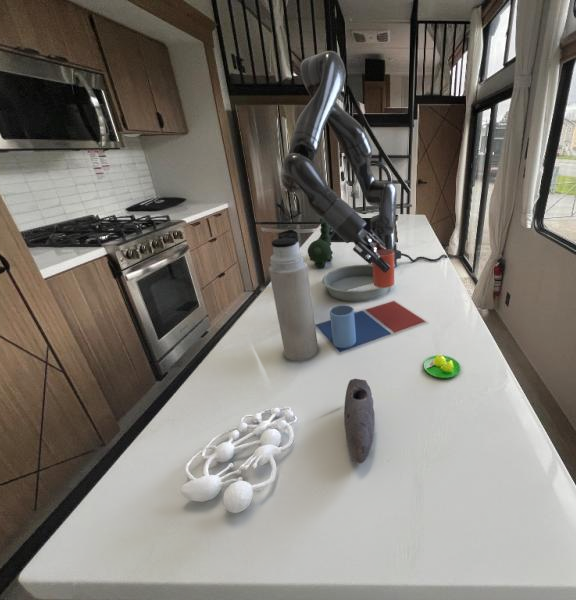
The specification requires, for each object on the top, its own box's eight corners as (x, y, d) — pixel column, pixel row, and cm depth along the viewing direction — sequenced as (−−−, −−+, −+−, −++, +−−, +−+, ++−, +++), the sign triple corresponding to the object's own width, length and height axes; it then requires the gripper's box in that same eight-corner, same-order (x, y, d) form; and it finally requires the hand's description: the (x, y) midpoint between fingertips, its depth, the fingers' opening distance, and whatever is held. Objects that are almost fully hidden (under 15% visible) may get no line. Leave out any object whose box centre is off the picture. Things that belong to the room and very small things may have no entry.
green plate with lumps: (466, 367, 72) (468, 357, 71) (446, 385, 67) (447, 374, 66) (437, 353, 77) (438, 343, 76) (416, 368, 72) (416, 358, 71)
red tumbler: (387, 278, 93) (386, 247, 89) (398, 284, 89) (398, 252, 85) (369, 282, 91) (368, 251, 87) (380, 289, 86) (379, 257, 82)
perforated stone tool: (376, 472, 50) (374, 440, 47) (342, 474, 50) (338, 442, 47) (374, 402, 63) (373, 374, 60) (347, 403, 63) (344, 375, 60)
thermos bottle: (296, 340, 84) (279, 234, 72) (324, 345, 82) (310, 236, 69) (278, 358, 77) (255, 243, 65) (307, 364, 75) (289, 246, 63)
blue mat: (362, 311, 98) (362, 310, 98) (391, 334, 85) (391, 333, 85) (315, 326, 91) (315, 324, 90) (340, 353, 78) (339, 352, 78)
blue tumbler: (349, 333, 86) (347, 302, 82) (360, 343, 81) (358, 311, 77) (329, 340, 83) (326, 308, 79) (339, 350, 79) (336, 318, 75)
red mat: (393, 302, 103) (393, 300, 103) (425, 322, 91) (425, 321, 91) (365, 310, 98) (365, 309, 98) (394, 333, 86) (394, 332, 86)
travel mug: (307, 283, 118) (300, 229, 110) (301, 291, 112) (293, 234, 104) (291, 283, 119) (282, 229, 110) (284, 290, 113) (274, 234, 104)
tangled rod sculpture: (251, 409, 64) (246, 392, 62) (317, 418, 60) (313, 400, 58) (167, 502, 47) (157, 482, 45) (251, 524, 43) (242, 503, 41)
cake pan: (337, 274, 127) (336, 263, 125) (399, 277, 122) (399, 266, 120) (312, 301, 105) (310, 288, 103) (386, 306, 100) (386, 293, 98)
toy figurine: (317, 257, 151) (305, 272, 127) (314, 216, 144) (300, 223, 121) (338, 257, 151) (329, 272, 127) (335, 215, 144) (325, 222, 121)
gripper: (345, 216, 76) (395, 266, 79) (360, 205, 89) (403, 249, 92) (326, 237, 79) (375, 285, 82) (343, 224, 92) (385, 265, 95)
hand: (389, 265), depth 87 cm, fingers closed on red tumbler, 6 cm apart
